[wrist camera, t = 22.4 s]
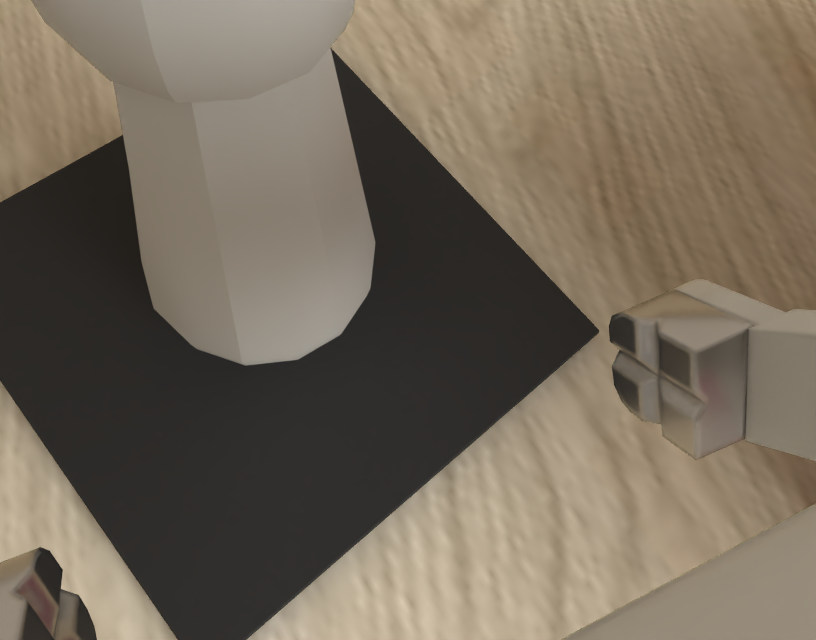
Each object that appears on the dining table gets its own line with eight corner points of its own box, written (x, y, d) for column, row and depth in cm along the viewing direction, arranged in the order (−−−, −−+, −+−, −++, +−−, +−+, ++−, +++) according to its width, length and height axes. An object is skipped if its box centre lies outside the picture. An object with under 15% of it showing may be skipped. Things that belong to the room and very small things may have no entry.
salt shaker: (122, 287, 19) (-253, -228, 7) (273, 169, 21) (193, -398, 9) (265, 431, 18) (129, 131, 6) (410, 293, 20) (537, -152, 8)
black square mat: (207, 673, 16) (203, 677, 16) (-78, 259, 19) (-90, 250, 19) (593, 337, 21) (600, 331, 20) (314, 42, 23) (313, 29, 23)
